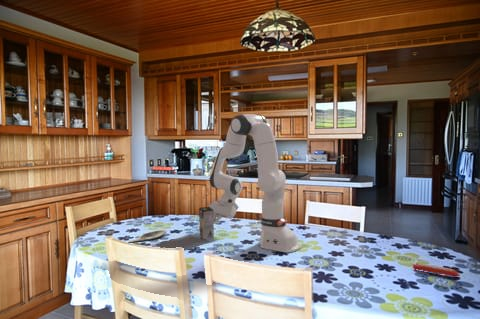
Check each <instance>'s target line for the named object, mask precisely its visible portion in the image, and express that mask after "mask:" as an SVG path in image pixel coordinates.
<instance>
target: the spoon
mask: <svg viewBox="0 0 480 319" xmlns="http://www.w3.org/2000/svg"><path fill="white" fill-rule="evenodd" d="M166 233H167V230H165V229H161V230H154V231H150V232H146V233H144V234H142V235H140V236H139V237H137V238H135V239H132V240H129V241H128V242H130V243H135V242H140V241H150V240H153V239H156V238H160V237H162V236H163V235H165V234H166ZM130 243H129V244H130Z"/></svg>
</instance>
